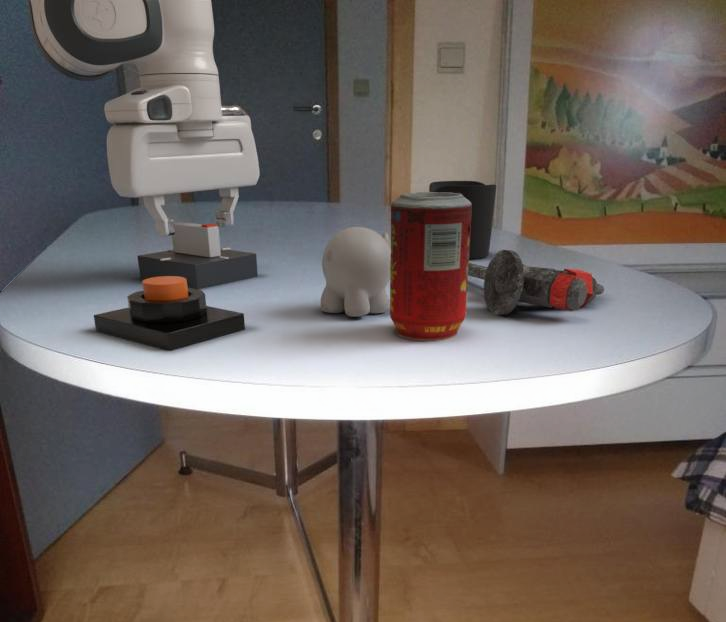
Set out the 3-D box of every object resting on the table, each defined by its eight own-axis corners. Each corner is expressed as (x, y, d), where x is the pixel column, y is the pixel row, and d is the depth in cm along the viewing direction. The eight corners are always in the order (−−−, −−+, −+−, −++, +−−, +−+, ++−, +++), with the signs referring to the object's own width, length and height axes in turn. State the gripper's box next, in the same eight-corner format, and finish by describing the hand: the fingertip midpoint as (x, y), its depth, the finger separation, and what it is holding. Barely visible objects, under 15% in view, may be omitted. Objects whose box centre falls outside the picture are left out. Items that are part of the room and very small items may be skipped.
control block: (96, 332, 69) (89, 295, 67) (171, 314, 75) (167, 280, 73) (170, 352, 63) (165, 312, 61) (245, 331, 69) (242, 294, 67)
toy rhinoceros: (437, 305, 78) (440, 222, 74) (355, 325, 71) (354, 234, 67) (390, 295, 83) (391, 217, 79) (309, 312, 75) (305, 227, 72)
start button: (135, 300, 67) (133, 281, 66) (170, 292, 70) (167, 274, 69) (163, 306, 65) (160, 286, 64) (197, 298, 68) (195, 279, 67)
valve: (649, 334, 74) (524, 326, 68) (516, 295, 96) (414, 286, 90) (666, 270, 71) (538, 256, 66) (525, 245, 94) (421, 233, 88)
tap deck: (136, 280, 91) (132, 254, 90) (204, 267, 99) (201, 243, 98) (194, 291, 85) (191, 264, 84) (261, 276, 93) (260, 251, 92)
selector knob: (173, 252, 92) (169, 221, 90) (184, 250, 93) (181, 220, 92) (210, 257, 88) (207, 225, 86) (221, 255, 89) (218, 224, 88)
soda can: (480, 337, 66) (489, 194, 61) (414, 348, 63) (417, 199, 58) (438, 321, 72) (443, 189, 66) (376, 330, 69) (375, 193, 64)
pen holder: (498, 253, 108) (504, 181, 104) (480, 263, 101) (485, 186, 96) (439, 249, 112) (442, 180, 107) (417, 259, 104) (419, 184, 100)
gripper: (230, 105, 92) (240, 220, 98) (90, 105, 78) (112, 239, 84) (266, 104, 89) (274, 223, 95) (125, 104, 74) (145, 243, 81)
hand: (197, 230), depth 89 cm, fingers open, 8 cm apart
